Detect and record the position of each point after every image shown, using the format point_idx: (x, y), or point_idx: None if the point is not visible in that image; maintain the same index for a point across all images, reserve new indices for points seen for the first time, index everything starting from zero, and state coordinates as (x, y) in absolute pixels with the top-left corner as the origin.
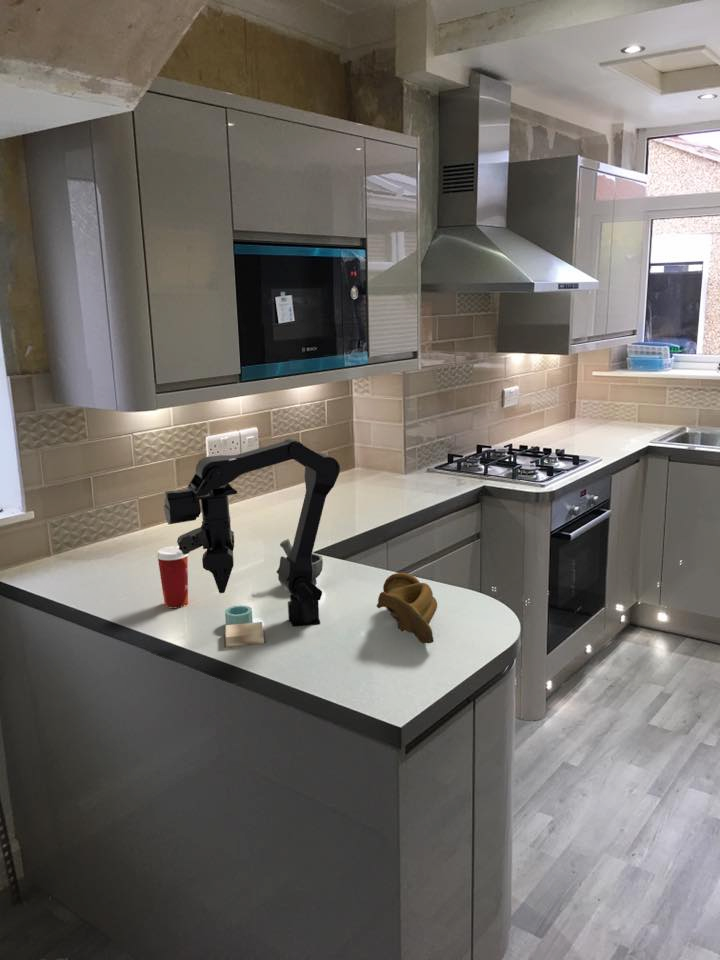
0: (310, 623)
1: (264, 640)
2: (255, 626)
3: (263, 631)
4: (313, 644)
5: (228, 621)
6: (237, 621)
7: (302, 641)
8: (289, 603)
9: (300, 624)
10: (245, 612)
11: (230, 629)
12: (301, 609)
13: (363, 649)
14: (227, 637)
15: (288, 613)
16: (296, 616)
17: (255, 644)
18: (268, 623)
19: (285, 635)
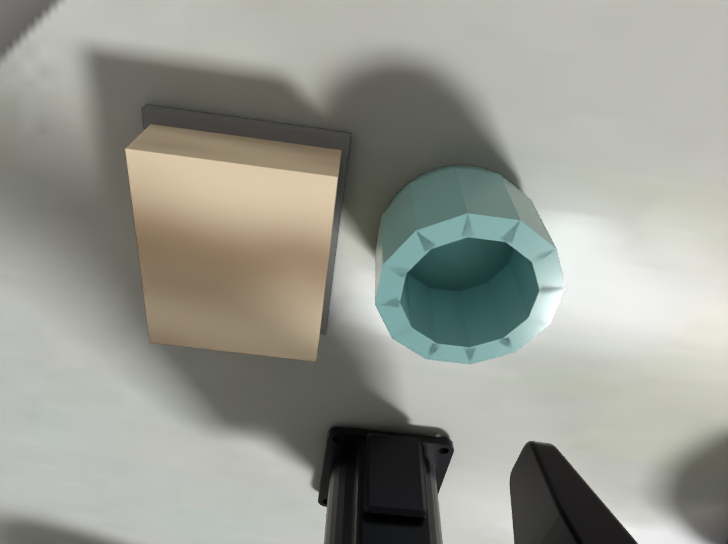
0: (328, 482)
1: None
2: (260, 326)
3: None
4: (147, 448)
5: (422, 202)
6: (379, 253)
7: (183, 426)
8: (389, 516)
9: (330, 457)
10: (497, 314)
11: (254, 195)
12: (329, 526)
13: (85, 539)
14: (127, 158)
15: (393, 463)
16: (350, 477)
17: None
18: None
19: (261, 390)
